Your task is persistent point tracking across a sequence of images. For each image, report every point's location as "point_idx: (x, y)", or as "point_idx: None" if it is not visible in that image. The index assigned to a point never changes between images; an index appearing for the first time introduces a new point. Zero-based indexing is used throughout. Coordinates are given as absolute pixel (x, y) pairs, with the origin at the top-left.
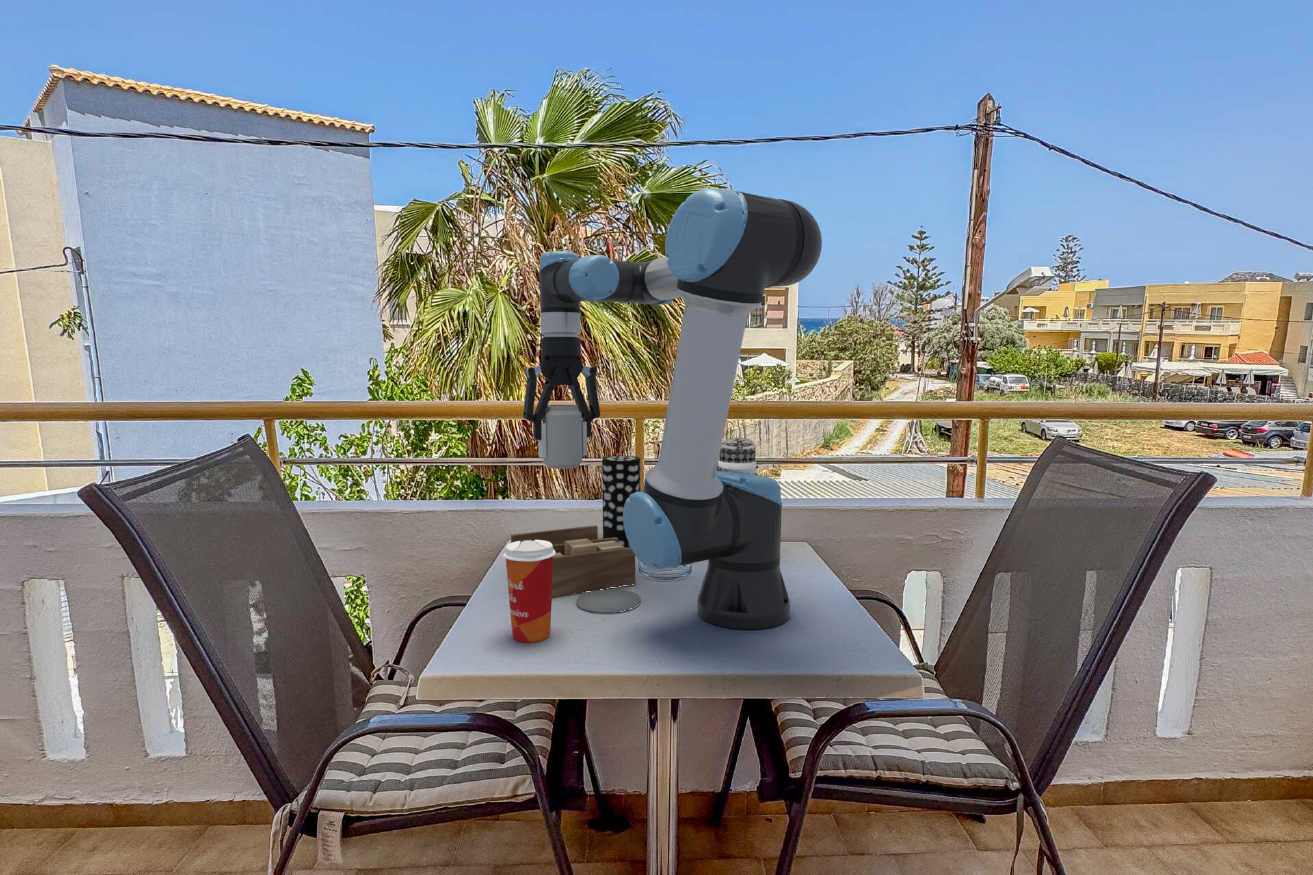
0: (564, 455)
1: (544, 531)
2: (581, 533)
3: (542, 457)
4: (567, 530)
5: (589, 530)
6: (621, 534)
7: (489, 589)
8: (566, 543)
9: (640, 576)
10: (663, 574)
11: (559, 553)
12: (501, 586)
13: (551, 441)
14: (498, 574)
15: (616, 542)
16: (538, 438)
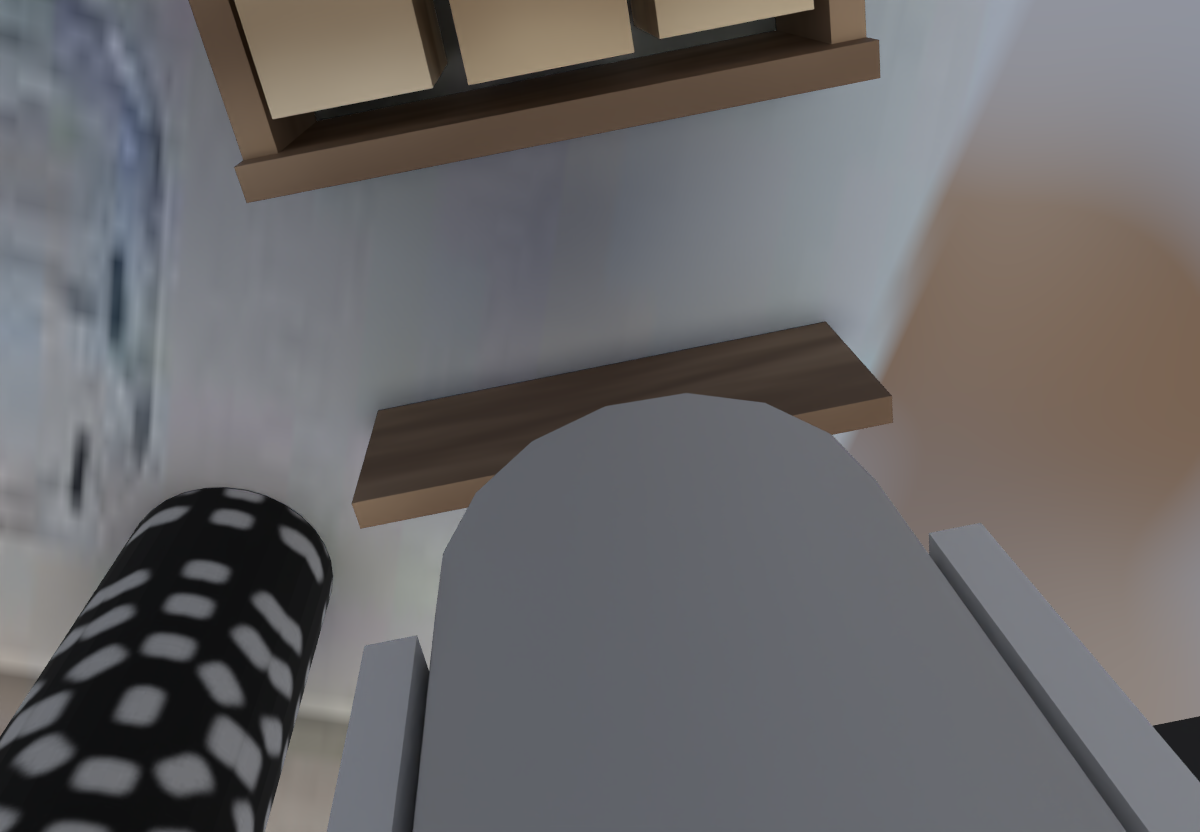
0: (725, 451)
1: None
2: (460, 464)
3: (983, 536)
4: None
5: (407, 482)
6: (211, 545)
7: (997, 34)
8: (627, 6)
9: (159, 33)
10: (10, 33)
11: (665, 13)
12: (931, 69)
13: (979, 644)
14: (902, 277)
15: (254, 57)
16: (1183, 745)
